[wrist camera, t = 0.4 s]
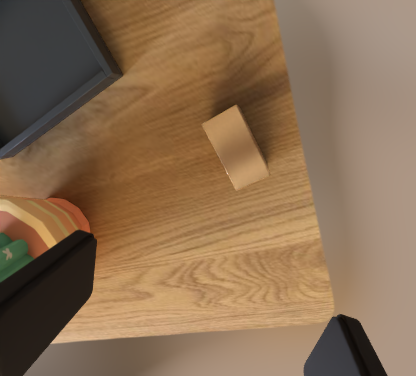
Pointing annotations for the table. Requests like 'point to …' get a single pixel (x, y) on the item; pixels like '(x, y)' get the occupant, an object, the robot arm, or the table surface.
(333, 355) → the robot arm
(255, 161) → the wooden block
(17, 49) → the tray
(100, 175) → the table surface
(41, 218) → the potted cactus
